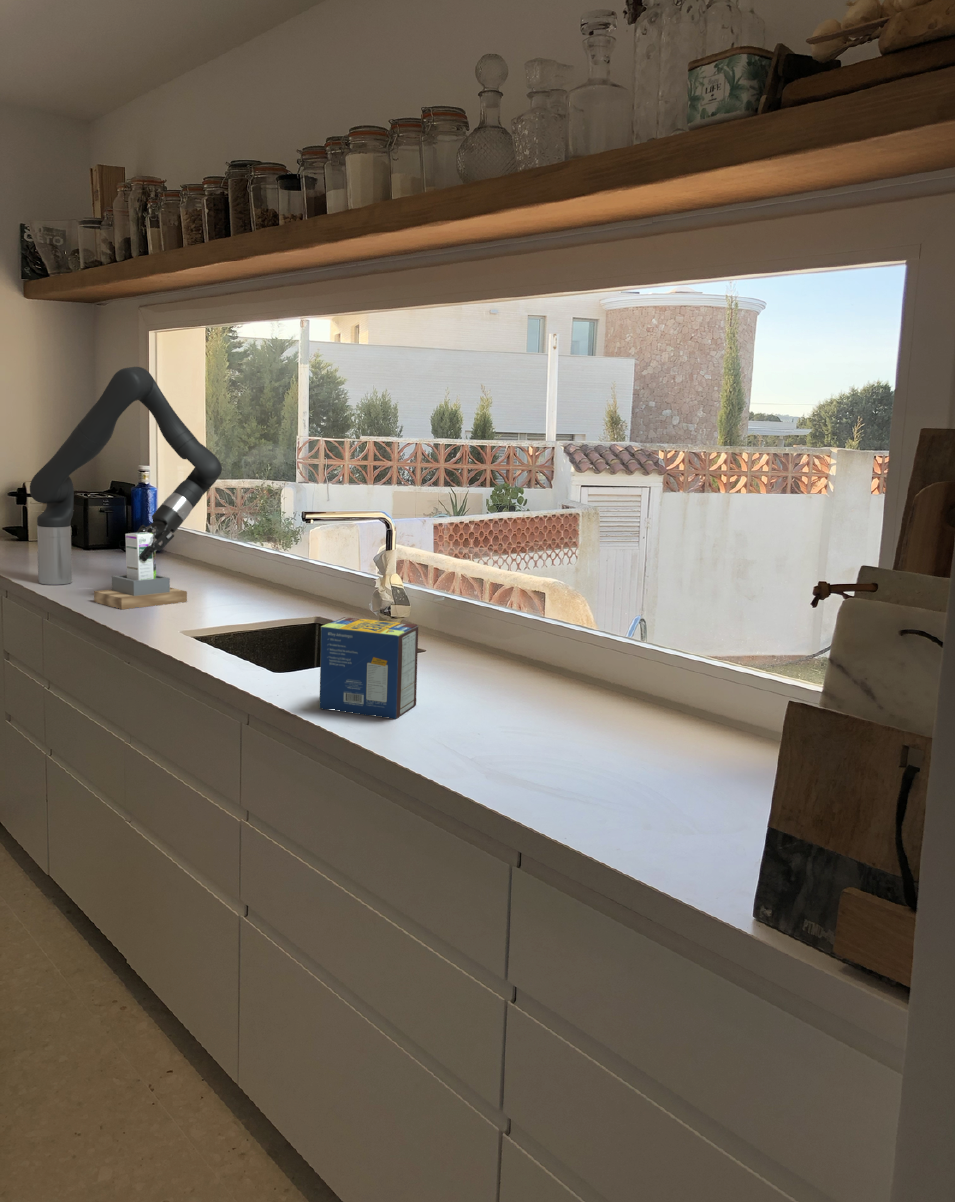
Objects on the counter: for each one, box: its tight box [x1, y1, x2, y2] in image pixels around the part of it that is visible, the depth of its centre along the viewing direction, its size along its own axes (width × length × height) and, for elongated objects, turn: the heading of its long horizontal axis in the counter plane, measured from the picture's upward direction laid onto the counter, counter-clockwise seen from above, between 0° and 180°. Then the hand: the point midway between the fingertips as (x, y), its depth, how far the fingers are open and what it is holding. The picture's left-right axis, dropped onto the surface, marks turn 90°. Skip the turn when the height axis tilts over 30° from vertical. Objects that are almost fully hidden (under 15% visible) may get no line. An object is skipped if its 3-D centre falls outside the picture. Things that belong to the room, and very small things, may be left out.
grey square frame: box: [111, 574, 171, 596], centre depth 277 cm, size 11×11×4 cm
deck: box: [93, 587, 188, 610], centre depth 278 cm, size 14×20×3 cm
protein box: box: [318, 616, 419, 720], centre depth 184 cm, size 10×15×16 cm
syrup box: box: [124, 532, 157, 580], centre depth 276 cm, size 6×6×14 cm
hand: (135, 557), depth 275 cm, fingers closed on syrup box, 6 cm apart
